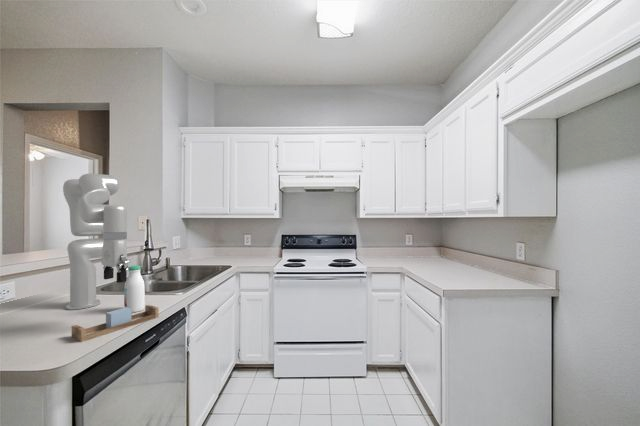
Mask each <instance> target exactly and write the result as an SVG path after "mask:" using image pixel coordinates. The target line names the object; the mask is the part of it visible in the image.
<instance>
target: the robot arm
mask: <svg viewBox="0 0 640 426" xmlns="http://www.w3.org/2000/svg"><path fill="white" fill-rule="evenodd" d="M119 189H120V183H119V180H118V178H117V177H116V176H114V175H111V174H102V173H101V174H100V173H84V174H82V175H81V176H80V177H79V178H77V179H76V178H73V179H72V178H71V179H68V180H66V181H64V182H63V186H62V190H63V191H62V192H63V196H64V199H65V202H66V203H67V205H68V209H69V224H70V226H69V227H70V232H71V234H72V235H73V236H74V237H98V238H81V239H75V240H72V241H70V242H69V243H68V245H67V255H68V261H69V274H70V275H69V276H70V277H69V284H70V285H69V288H70V289H69V295H70V296H69V297H70V299H69V300H70V301H69V303H68V304H66V305H65V309H66V310H70V311H73V310H74V311H75V310H82V309H88V308H89V309H90V308H93V307H95V306H98V305H99V304H101V300H100V299H97V267H96V265H95V264H94V263H93V262H92V261H91V259H97V258H101V265H102V266H103V267H102V268H103V280H110V279H113V278H114V268H116V270H117V272H116V283H118V284H120V283H125V282H126V280H127V278H128V276H127V274H128V273H127V271H128V268H129V266H128V265H129V260H128V251H127V250H128V248H127V240H128V208H127V207H126V206H125V205H119V204H105V203H107V202H108V201H109V199H110V197H111V196H113V195H116V193H117V192H118V191H119ZM99 237H100V238H99Z"/></svg>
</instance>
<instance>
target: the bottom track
mask: <svg viewBox="0 0 640 426" xmlns="http://www.w3.org/2000/svg"><path fill="white" fill-rule="evenodd" d="M159 316H160V315H159V307H158V306H155V305H151V304H145V308H144V311H142V312H137V313H135V314H131V321H130V322H127V323H123V324H120V325H117V326H114V327H110V328H107V329H106V322H104V323H101V324H97V325H95V326H91V327H88V328H85V327H82V326H80V325H78V324H74V325H71V338H72V339H74V340H76V341H78V342H81V343H83V342H85V341H88V340H91V339H95V338H98V337H101V336H104V335H107V334H110V333H114V332H116V331H119V330H123V329H126V328H129V327H132V326H135V325H138V324H140V323H144V322H147V321H151V320H154V319H156V318H159Z"/></svg>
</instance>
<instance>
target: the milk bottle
mask: <svg viewBox="0 0 640 426" xmlns="http://www.w3.org/2000/svg"><path fill="white" fill-rule="evenodd" d="M141 267H142V266H141V265H140V264H139V265H138V264H137V265H130V266H128V268H127V270H128V276H127V278H126V281H125V282H124V290H123V291H124V292H123V294H124V295H123V297H124V298H123V299H124V303H123V304H124V305H123V308H130V309H131V314H132V313H140V312H141V311H142V312H143V310H144V311H145V306H146V295H145V294H146V293H145V291H146V290H145V289H146V288H145V281H144V279H143V276H142V274H141Z"/></svg>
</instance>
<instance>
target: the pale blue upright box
mask: <svg viewBox="0 0 640 426" xmlns="http://www.w3.org/2000/svg"><path fill="white" fill-rule="evenodd" d="M131 315H132V313H131V309H130V308H124V307H123V308H122V307H121V308H119V309H115V310H112V311H108V312H105V323H106V328H105V329H107V328H110V327H114V326H117V325H120V324H123V323H127V322H130V321H132V320H131Z"/></svg>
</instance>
